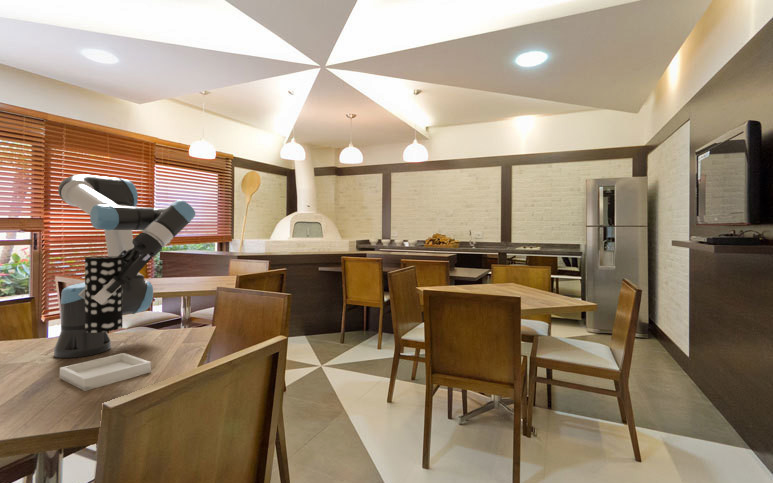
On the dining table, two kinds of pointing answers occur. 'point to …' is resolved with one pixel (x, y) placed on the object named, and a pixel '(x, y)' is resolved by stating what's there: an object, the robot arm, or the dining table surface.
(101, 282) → the white-spotted black cylinder
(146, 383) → the dining table surface
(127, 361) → the tray
